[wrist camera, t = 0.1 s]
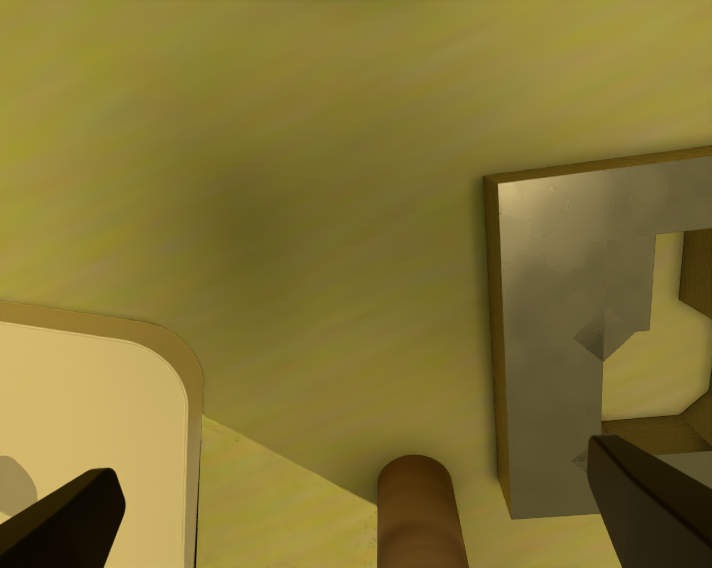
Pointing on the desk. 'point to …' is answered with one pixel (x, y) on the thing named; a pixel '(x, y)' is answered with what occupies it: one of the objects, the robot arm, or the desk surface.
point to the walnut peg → (418, 516)
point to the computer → (103, 423)
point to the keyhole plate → (587, 314)
